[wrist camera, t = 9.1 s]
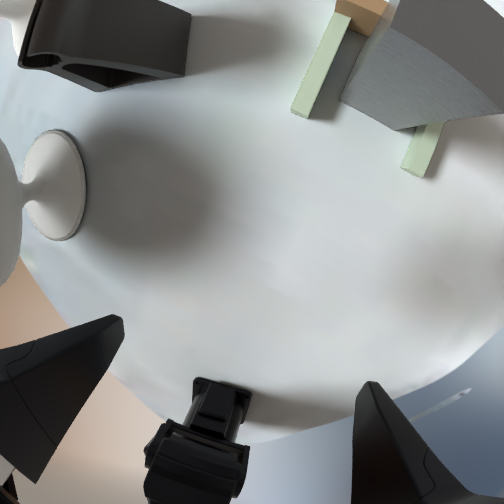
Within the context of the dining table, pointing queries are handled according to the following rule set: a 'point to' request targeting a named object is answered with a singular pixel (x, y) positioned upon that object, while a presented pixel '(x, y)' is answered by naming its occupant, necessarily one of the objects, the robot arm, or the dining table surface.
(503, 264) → the dining table surface
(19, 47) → the flower in vase
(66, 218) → the chalice
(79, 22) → the phone stand
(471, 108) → the block
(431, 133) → the keeper
